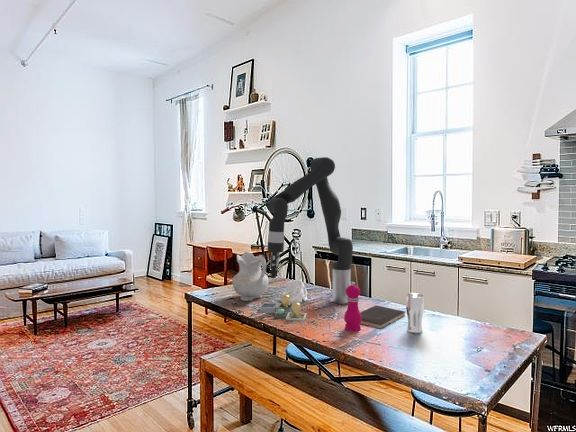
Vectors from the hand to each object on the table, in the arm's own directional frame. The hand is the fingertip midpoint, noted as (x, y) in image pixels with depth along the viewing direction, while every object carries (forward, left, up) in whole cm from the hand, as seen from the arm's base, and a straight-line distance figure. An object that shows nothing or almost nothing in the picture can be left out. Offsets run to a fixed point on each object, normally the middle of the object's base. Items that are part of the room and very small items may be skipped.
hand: (274, 276), depth 186 cm
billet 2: (-11, +5, -18) cm, 21 cm away
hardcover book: (-47, -3, -19) cm, 51 cm away
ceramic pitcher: (+17, -26, -19) cm, 36 cm away
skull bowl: (-7, -22, -19) cm, 30 cm away
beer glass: (-61, +12, -19) cm, 65 cm away
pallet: (0, -5, -18) cm, 19 cm away
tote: (-11, +5, -18) cm, 22 cm away
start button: (-4, +5, -16) cm, 17 cm away
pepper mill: (-36, +13, -19) cm, 43 cm away
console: (-4, +5, -18) cm, 19 cm away
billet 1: (-4, -5, -17) cm, 18 cm away
